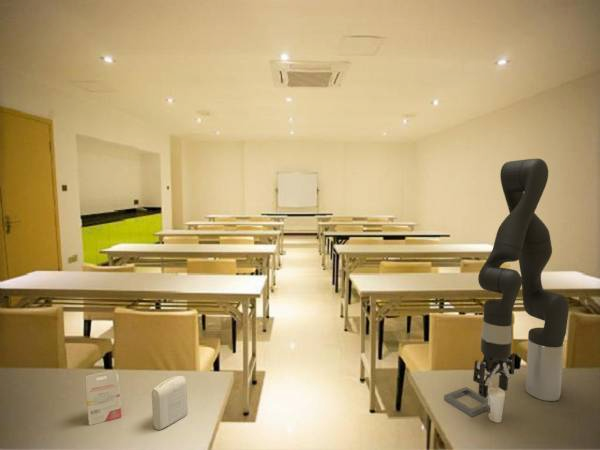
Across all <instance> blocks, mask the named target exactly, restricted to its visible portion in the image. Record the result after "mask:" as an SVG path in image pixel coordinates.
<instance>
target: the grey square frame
mask: <svg viewBox="0 0 600 450" xmlns="http://www.w3.org/2000/svg"><path fill="white" fill-rule="evenodd" d="M466 395H467V396H469V397H470V398H473V399H475V400H477V401H479V402H480V403H481V404H478V405H477V406H474V407H470V406H467V405H466V404H464V403H462V402H461V401H460V400H458V398H461V397H463V396H466ZM443 399H444V401H446V402H447V403H449V404H451V405H452V406H454V407H455V408H457V409H458V410H460V411H462V412H463V413H465V414H466V415H468V416H470V417H471V418H472V417H475V416H477V415H480V414H481V413H485V412H487V411H488V397H486V398H484V397H482V396H480V395H479V392H476V391H475V390H473V389H471V388H469V387H467V386H464V387H463V388H460V389H456V390H455V391H452V392H449V393H446V394H444V395H443Z"/></svg>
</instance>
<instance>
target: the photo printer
mask: <svg viewBox="0 0 600 450" xmlns="http://www.w3.org/2000/svg"><path fill="white" fill-rule="evenodd" d="M151 401H152V402H151V403H152V404H151V407H152V424H153V428H154V429H155V430H156V431H158V430H163V429H165V428H167V427H168V426H170V425H172V424H173V423H176V422H177V421H180V419H182V418H184V417H185V416H187V415H188V413H189V412H188V411H189V409H188V387H187V380H186V377H185V376H182V375H176V376H172V377H169V378H167V379H166V380H164V381H162V382H160V383H159V384H157V385H156V386H155V387H154V388H152V390H151Z"/></svg>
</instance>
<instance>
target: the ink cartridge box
mask: <svg viewBox="0 0 600 450" xmlns="http://www.w3.org/2000/svg"><path fill="white" fill-rule="evenodd" d="M119 380H120V379H119V373H118V372H117V370H115V369H114V370H110V371H105V372H99V373H95V374H90V375H86V376H85V396H86V399H85V400H86V408H87V409H86V411H87V419H88V421H89V422H88V425H89V426H92V425H96V424H100V423H104V422H107V421H112V420H116V419H120V418H122V403H121V401H122V400H121V392H120V391H121V390H120V381H119ZM103 418H104V419H103ZM98 419H100V420H98ZM95 420H96V421H95ZM90 421H92V422H90Z"/></svg>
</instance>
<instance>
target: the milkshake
mask: <svg viewBox="0 0 600 450" xmlns="http://www.w3.org/2000/svg"><path fill="white" fill-rule="evenodd" d="M489 385H490V387H488V396H487V399H488V410H487V411H488V412H487V413H488V419H489V420H490V421H491V422H493V423H497V424H499V423H501V422H502V419H503V412H504V404H505V399H506V393H505V392H506V391H504V390H502V389H501V388H499V387H497V386H495V387H494V386H493V383H492V379H490V381H489Z"/></svg>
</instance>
